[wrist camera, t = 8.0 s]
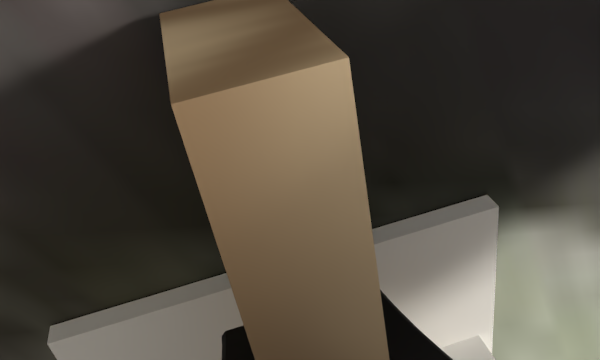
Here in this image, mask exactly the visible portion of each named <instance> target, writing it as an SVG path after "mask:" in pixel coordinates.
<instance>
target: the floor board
mask: <svg viewBox="0 0 600 360" xmlns="http://www.w3.org/2000/svg"><path fill="white" fill-rule="evenodd" d="M498 217H499V206H498V205H497V204H496V203H495V202H494V201H493V200H492V199H491V198H490V197H489V196H488V195H484V196H481V197H478V198H474V199H471V200H468V201H464V202H461V203H458V204H454V205H451V206H448V207H444V208H441V209H438V210H434V211H431V212H428V213H424V214H421V215H418V216H414V217H411V218H408V219H404V220H401V221H398V222H394V223H391V224H388V225H384V226H381V227H378V228H375V229H372V233H373V240H374V248H375V255H376V263H377V270H378V278H379V285H380V290H381V291H382V292H383V293H384V294H385V295H386V296H387V298H388V299H389V300H390V301H391V302H392V303H393V304H394V305H395V306H396V307H397V308H398V309H399V310H400V311H401V312H402V313H403V314H404V315H405V316H406V317H407V318H408V319H409V320H410V321H411V322H412V323H413V324H414V325H415V326H416V327H417V328H418V329H419V330H420V331H421V332H422V333H423V334H424V335H426V336H427V337H428V338H429V339H430V340H431V341H432V342H433V343H435V344H436V345H437V346H438V347H439V348H441V347H444V346H447V345H450V344H453V343H456V342H459V341H462V340H465V339H468V338H471V337H474V336H477V335H479V336H480V338H481V339H482V341H483V342H484V344H485V345H486V346H487V348H488V349H489V351H490V352H491V354H492V340H493V320H494V299H495V278H496V258H497V237H498ZM240 326H243V322H242V319H241V316H240V313H239V310H238V307H237V304H236V301H235V298H234V294H233V291H232V288H231V285H230V282H229V279H228V276H227V273H225V274H222V275H218V276H215V277H212V278H208V279H205V280H202V281H198V282H195V283H192V284H188V285H185V286H182V287H178V288H175V289H172V290H168V291H165V292H162V293H158V294H155V295H152V296H149V297H145V298H142V299H139V300H135V301H132V302H129V303H125V304H122V305H119V306H115V307H112V308H109V309H105V310H102V311H99V312H95V313H92V314H89V315H85V316H82V317H79V318H75V319H72V320H69V321H65V322H62V323H59V324H55V325H52V326H50V330H49V336H48V342H47V345H48V346H49V348H50V350H51V351H52V353H53V354H54V356H55V357H56V359H57V360H222V335H223V334H224V332H225V331H227V330H230V329H234V328H237V327H240Z"/></svg>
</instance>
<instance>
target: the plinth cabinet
mask: <svg viewBox="0 0 600 360" xmlns="http://www.w3.org/2000/svg"><path fill="white" fill-rule="evenodd" d="M440 349H441V350H442V351H444V352H445V353H446V354H447V355H448V356H449V357H451V358H452V359H453V360H496V359H495V358H494V357H493V355H492V354H491V352H490V351H489V349H488V348H487V346H486V345H485V344H484V342H483V341H482V339H481V338H480V336H479V335H477V336H474V337H471V338H468V339H465V340H462V341H459V342H456V343H453V344H450V345H447V346H444V347H441V348H440Z"/></svg>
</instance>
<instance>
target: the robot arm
mask: <svg viewBox="0 0 600 360" xmlns="http://www.w3.org/2000/svg"><path fill="white" fill-rule="evenodd" d="M380 292H381V300H382V307H383V315H384V322H385V330H386V337H387V345H388V352H389V360H453V359H452V358H451V357H449V356H448V355H447V354H446V353H445V352H444V351H442V350H441V349H440V348H439V347H438V346H437V345H436V344H435V343H433V342H432V341H431V340H430V339H429V338H428V337H427V336H426V335H424V334H423V333H422V332H421V331H420V330H419V329H418V328H417V327H416V326H415V325H414V324H413V323H412V322H411V321H410V320H409V319H408V318H407V317H406V316H405V315H404V314H403V313H402V312H401V311H400V310H399V309H398V308H397V307H396V306H395V305H394V304H393V303H392V302H391V301H390V300H389V299H388V298H387V296H386V295H385V294H384V293H383V292H382V291H381V290H380ZM222 360H255V358H254V355H253V352H252V349H251V346H250V343H249V340H248V337H247V334H246V331H245V328H244V325H243V326H240V327H237V328H234V329H230V330H227V331H225V332H224V334H223V335H222Z"/></svg>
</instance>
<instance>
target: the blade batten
mask: <svg viewBox="0 0 600 360" xmlns="http://www.w3.org/2000/svg"><path fill="white" fill-rule="evenodd" d="M159 15H160V23H161V31H162V39H163V47H164V54H165V62H166V70H167V78H168V86H169V94H170V101H171V106H172V109H173V112H174V115H175V118H176V121H177V124H178V127H179V131H180V134H181V137H182V140H183V143H184V146H185V149H186V152H187V155H188V158H189V161H190V164H191V167H192V170H193V173H194V176H195V179H196V182H197V185H198V188H199V191H200V194H201V197H202V200H203V203H204V206H205V209H206V212H207V216H208V219H209V222H210V225H211V228H212V231H213V234H214V237H215V240H216V243H217V246H218V249H219V252H220V255H221V258H222V261H223V264H224V267H225V270H226V273H227V276H228V279H229V282H230V285H231V288H232V291H233V294H234V298H235V301H236V304H237V307H238V310H239V313H240V316H241V319H242V322H243V325H244V328H245V331H246V334H247V337H248V340H249V343H250V346H251V349H252V352H253V355H254V358H255V360H389V352H388V345H387V337H386V330H385V322H384V315H383V307H382V300H381V292H380V285H379V278H378V270H377V263H376V255H375V248H374V240H373V233H372V225H371V218H370V210H369V203H368V196H367V188H366V181H365V173H364V166H363V158H362V151H361V143H360V136H359V129H358V121H357V114H356V106H355V99H354V91H353V84H352V76H351V69H350V61H349V57H348V56H347V55H346V54H345V53H344V52H343V51H342V50H341V49H339V48H338V47H337V46H336V45H335V44H334V43H333V42H332V41H331V40H330V39H329V38H328V37H327V36H326V35H324V34H323V33H322V32H321V31H320V30H319V29H318V28H317V27H316V26H315V25H314V24H313V23H312V22H311V21H309V20H308V19H307V18H306V17H305V16H304V15H303V14H302V13H301V12H300V11H299V10H298V9H297V8H296V7H294V6H293V5H292V4H291V3H290V2H289V1H288V0H213V1H209V2H205V3H201V4H196V5H192V6H188V7H184V8H180V9H176V10H172V11H168V12H164V13H159Z"/></svg>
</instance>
